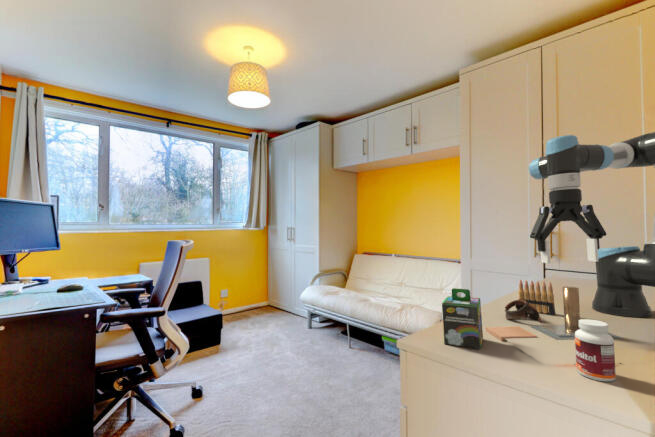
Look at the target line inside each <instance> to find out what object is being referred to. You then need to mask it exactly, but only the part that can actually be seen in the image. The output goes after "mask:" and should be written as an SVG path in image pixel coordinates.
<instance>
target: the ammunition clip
mask: <svg viewBox="0 0 655 437" xmlns="http://www.w3.org/2000/svg"><path fill="white" fill-rule="evenodd" d="M547 289H548V291H547ZM553 290H554V288H553V284H552V282H548V286H547V285H546V283H545V281H542V284H541V286H540V282H539V280H537V281H536V286H535V284H534V281H533V280H531V281H530V284H529V282H528V280H525V281H524V285H523V281H522V279H519V282H518V300H525V301H526V302H527V303H528V304H531V305H532V306H534V307H535V308H536V310H537V311H538V313H539V315H547V316H552V317H556V307H555V295H554V291H553Z"/></svg>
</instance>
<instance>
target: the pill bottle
mask: <svg viewBox="0 0 655 437" xmlns="http://www.w3.org/2000/svg"><path fill="white" fill-rule="evenodd" d="M579 328H580V329H579V330H577V331H576V332H575V340H574V342H575V345H574V346H575V362H576V363H575V364H576V371H577V372H578V373H579V374H580V375H582V376H583V377H586V378H587V379H590V380H594V381H599V382H604V383H605V382H613V381H615V380H616V377H617V376H616V374H617V372H616V357H615V342H614V340H615V339H613V338H612V336H610V335H609V334H607V332H608V333H609V325H608V323H606V322H604V321H602V320H597V319H587V318H586V319H582V318H580V320H579Z"/></svg>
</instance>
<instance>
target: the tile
mask: <svg viewBox="0 0 655 437" xmlns="http://www.w3.org/2000/svg"><path fill="white" fill-rule="evenodd" d="M485 332H486V333H487V332H488V334H489V335H491V336H493V337H494V338H496V339H497V340H498V341H500V342H508V339H521V338H523V339H525V338H528V339H529V338H538V335H536V334H534V333H532V332H530V331H528V330H526V329H525V328H522V327H520V326H489V327H487V326H485Z"/></svg>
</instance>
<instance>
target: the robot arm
mask: <svg viewBox="0 0 655 437" xmlns="http://www.w3.org/2000/svg"><path fill="white" fill-rule="evenodd" d="M578 140H579V139H578V137H577V136H576V135H575V134H568V135H567V134H566V135H562V136H556V137H553V138H550V139H549V140H547V141H546V144H545V156H540V157H539V158H535V159H533V160H531V162H530V163H529V165H528V171H529V174H530V176H531V177H532V178H533V179H536V180H544V179H547V188H548V190H549V192H548V202H549V204H550V206H541V207H539V209H538V210H539V211H538V212H539V213H538V216H537V219H536V221H535V223H534V226H533V228H532V230H531V232H530V235H529V238H531V239H533V240H535V241H537V249H538V252H540V261H541V263H543V264H551V253H550V240H546V239H547V238H548V237H549V236H550V235H551V233H552V232H553V231H554V229H555V228H556V227H557V225H559V223H561V222H573V223H575V224H576V225H577V226H578V227H579V228H580V229H581V230H582V231H583V233H585V234H586V236H587V237H589V238H586V240H585V241H586V251H587V253H586V254H587V261H588V262H595V272H596V273H595V274H596V285H597V288H596V291H595V295H594V297H593V300H592V302H591V305H592V309H593V310H595V311H597V312H600V313H602V314H603V313H605V314H609V315H615V316H623V317H632V318H645V317H646V318H647V317H651V316H652V309H651V306H650V305H649V303H648V302H647V298H646V296H645V295H644V292H643V286H646V287H652V288H655V212H654V214H653V222H652V223H653V224H652V232H651V238H650V240H649V241H646V242H645V243H644V244H643V250H641V249H640V247H639V246H636V245H635V246H633V245H631V246H619V247H618V246H617V247H603V248H600V247H601V246H600V239H603V238H604V237H605V236H607V231H606V230H605V228H604V226H603V225H602V224H601V222H600V220H599V218H598V216H597V215H596V213H595V211H594V206H593V204H583V205H581V202H582V200H583V195H582V190H581V189H580V187H581V186H582V181H581V173H583V172H591V171H598V170H599V171H600V170H605V169H608V168H611V169H617V170H619V169H625V168H626V169H627V168H629V169H630V168H641V167H643V168H644V167H653V168H654V169H655V131H653V132H649V133H645V134H644V133H643V134H641V135H639V136H636V137H635V136H634V137H633V138H629V139H626V140H623V141H618V142H614V143H612V144H610V145H608V146H607V145H603V144H597V143H596V144H580V143H579V141H578ZM550 214H552V215H551V216H550V217H549V215H550ZM548 218H549V219H548ZM547 220H548V221H547Z"/></svg>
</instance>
